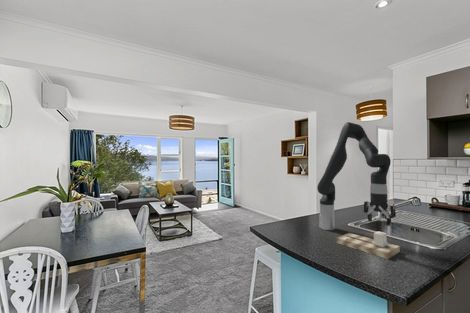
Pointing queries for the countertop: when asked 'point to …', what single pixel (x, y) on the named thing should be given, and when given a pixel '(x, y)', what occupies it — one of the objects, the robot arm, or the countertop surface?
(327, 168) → the robot arm
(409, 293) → the countertop surface
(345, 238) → the wooden grid board
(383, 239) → the white cube
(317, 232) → the countertop surface
